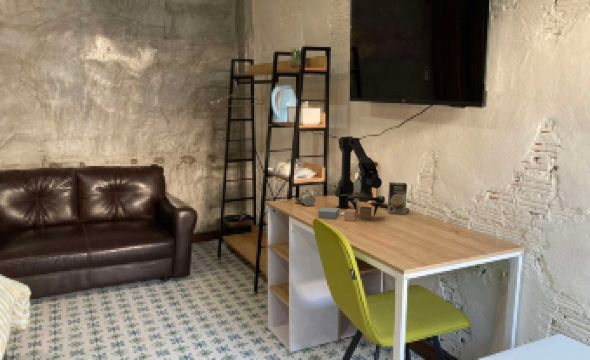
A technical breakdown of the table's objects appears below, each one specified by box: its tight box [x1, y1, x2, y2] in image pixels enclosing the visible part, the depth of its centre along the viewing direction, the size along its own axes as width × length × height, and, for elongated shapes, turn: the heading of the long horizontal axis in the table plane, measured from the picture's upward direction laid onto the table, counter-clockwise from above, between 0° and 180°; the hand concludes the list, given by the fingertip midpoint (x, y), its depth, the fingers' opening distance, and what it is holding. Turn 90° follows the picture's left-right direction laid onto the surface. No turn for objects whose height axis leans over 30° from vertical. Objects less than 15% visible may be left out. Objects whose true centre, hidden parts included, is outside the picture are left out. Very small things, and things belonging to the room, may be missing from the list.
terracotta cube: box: [343, 208, 358, 222], centre depth 257 cm, size 5×5×5 cm
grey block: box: [317, 207, 340, 220], centre depth 263 cm, size 9×9×4 cm
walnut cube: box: [359, 206, 372, 219], centre depth 263 cm, size 5×5×5 cm
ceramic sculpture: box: [294, 189, 316, 207], centre depth 293 cm, size 11×9×15 cm
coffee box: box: [387, 182, 408, 215], centre depth 272 cm, size 9×6×16 cm
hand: (365, 214), depth 264 cm, fingers open, 9 cm apart
